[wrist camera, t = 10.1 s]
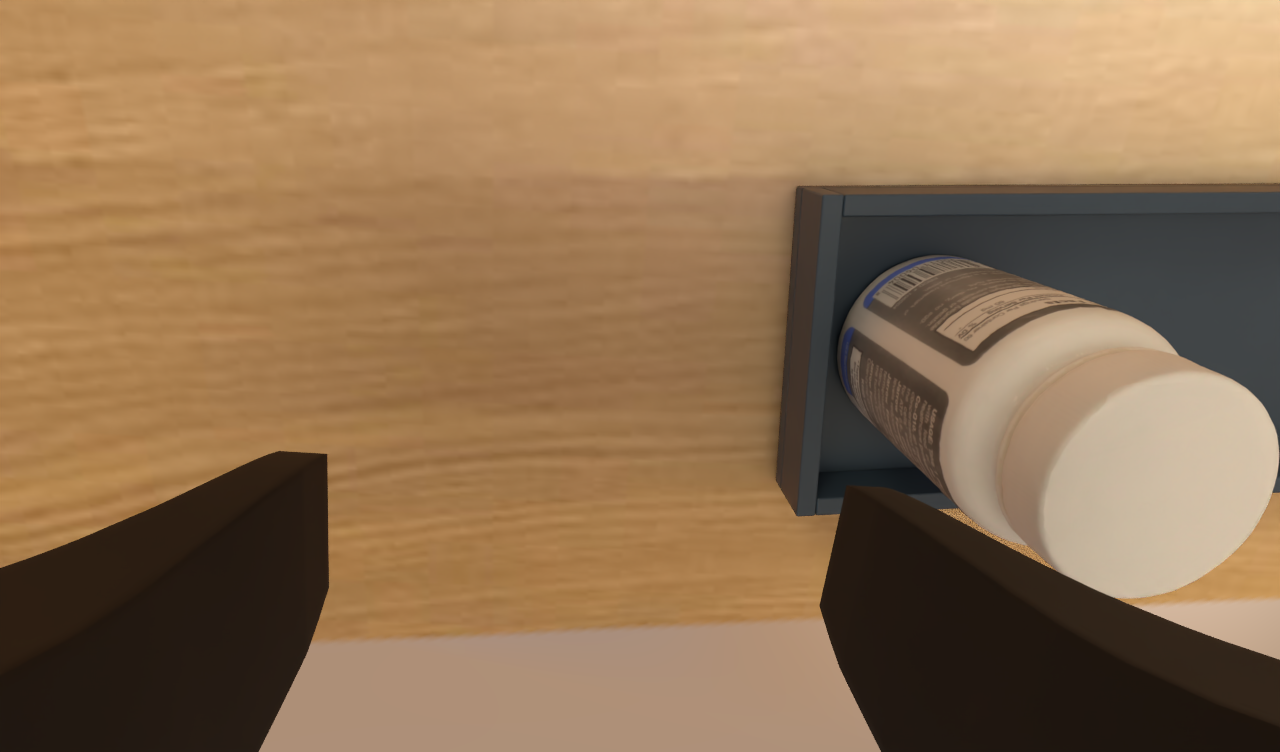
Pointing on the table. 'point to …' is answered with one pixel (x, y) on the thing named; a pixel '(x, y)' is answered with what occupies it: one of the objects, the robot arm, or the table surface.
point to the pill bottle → (1060, 423)
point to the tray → (1037, 251)
